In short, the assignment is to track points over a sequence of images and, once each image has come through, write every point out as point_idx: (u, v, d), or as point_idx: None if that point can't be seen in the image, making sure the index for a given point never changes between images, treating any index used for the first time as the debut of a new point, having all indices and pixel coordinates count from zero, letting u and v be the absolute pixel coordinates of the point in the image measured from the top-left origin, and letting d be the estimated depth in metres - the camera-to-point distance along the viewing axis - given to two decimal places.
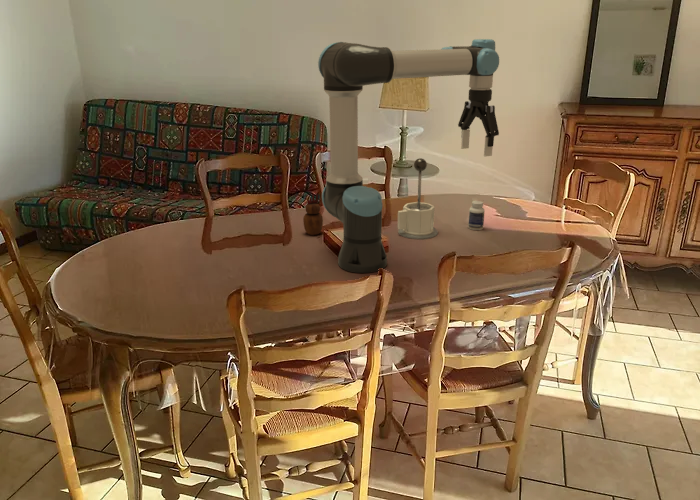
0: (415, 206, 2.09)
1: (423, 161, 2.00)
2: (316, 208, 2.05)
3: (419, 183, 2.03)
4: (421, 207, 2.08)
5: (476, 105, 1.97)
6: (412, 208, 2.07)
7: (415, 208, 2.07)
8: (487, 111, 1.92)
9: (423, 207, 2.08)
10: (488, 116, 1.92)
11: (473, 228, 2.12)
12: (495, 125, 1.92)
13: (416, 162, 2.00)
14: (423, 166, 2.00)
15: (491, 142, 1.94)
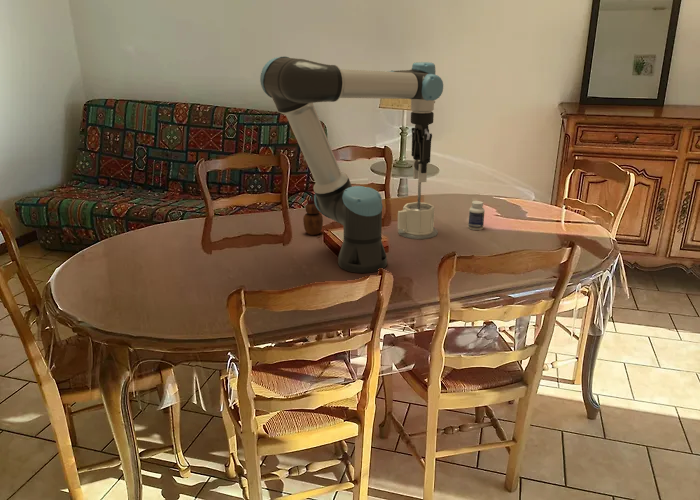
0: (415, 206, 2.09)
1: None
2: (316, 208, 2.05)
3: (419, 183, 2.03)
4: (421, 207, 2.08)
5: (418, 128, 1.97)
6: (412, 208, 2.07)
7: (415, 208, 2.07)
8: (423, 138, 1.92)
9: (423, 207, 2.08)
10: (423, 143, 1.93)
11: (473, 228, 2.12)
12: (428, 153, 1.94)
13: (416, 162, 2.00)
14: None
15: (424, 169, 1.98)
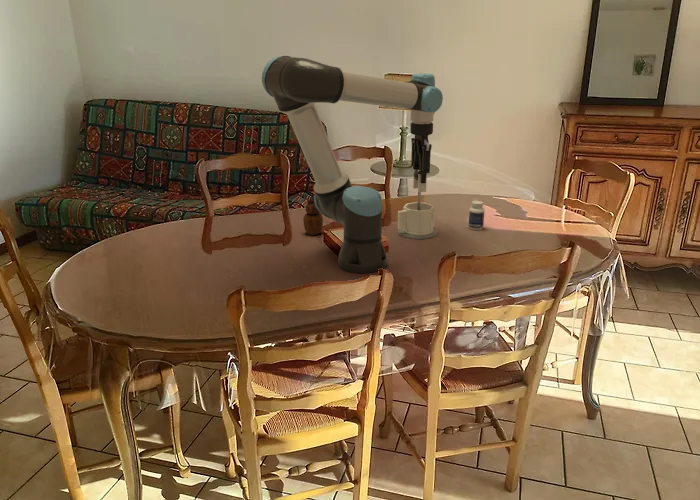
0: None
1: None
2: (316, 208, 2.05)
3: (419, 193, 2.05)
4: None
5: (418, 138, 1.98)
6: None
7: None
8: (423, 149, 1.94)
9: None
10: (423, 154, 1.94)
11: (473, 228, 2.12)
12: (427, 164, 1.96)
13: (416, 172, 2.01)
14: None
15: (423, 179, 1.99)
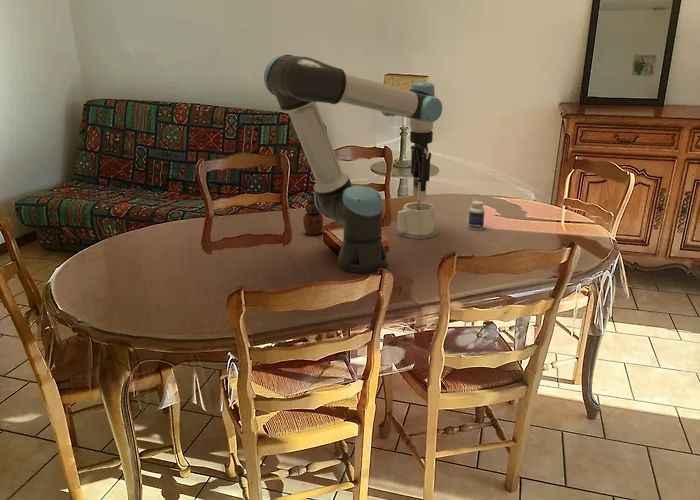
0: None
1: None
2: (316, 208, 2.05)
3: (418, 201, 2.06)
4: None
5: (417, 146, 1.99)
6: None
7: None
8: (423, 157, 1.95)
9: None
10: (422, 162, 1.95)
11: (473, 228, 2.12)
12: (427, 172, 1.97)
13: (415, 180, 2.02)
14: None
15: (423, 187, 2.00)
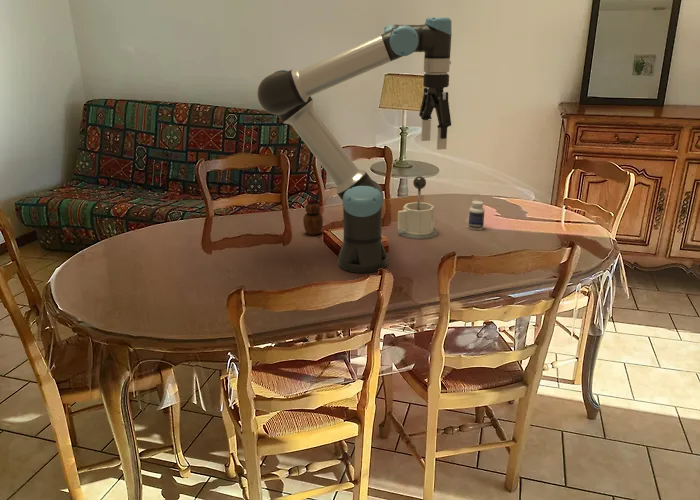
0: None
1: (422, 179, 2.02)
2: (316, 208, 2.05)
3: (418, 201, 2.06)
4: None
5: (432, 92, 1.76)
6: None
7: None
8: (439, 98, 1.71)
9: None
10: (440, 104, 1.71)
11: (473, 228, 2.12)
12: (447, 114, 1.70)
13: (415, 180, 2.02)
14: (422, 184, 2.02)
15: (443, 133, 1.73)
